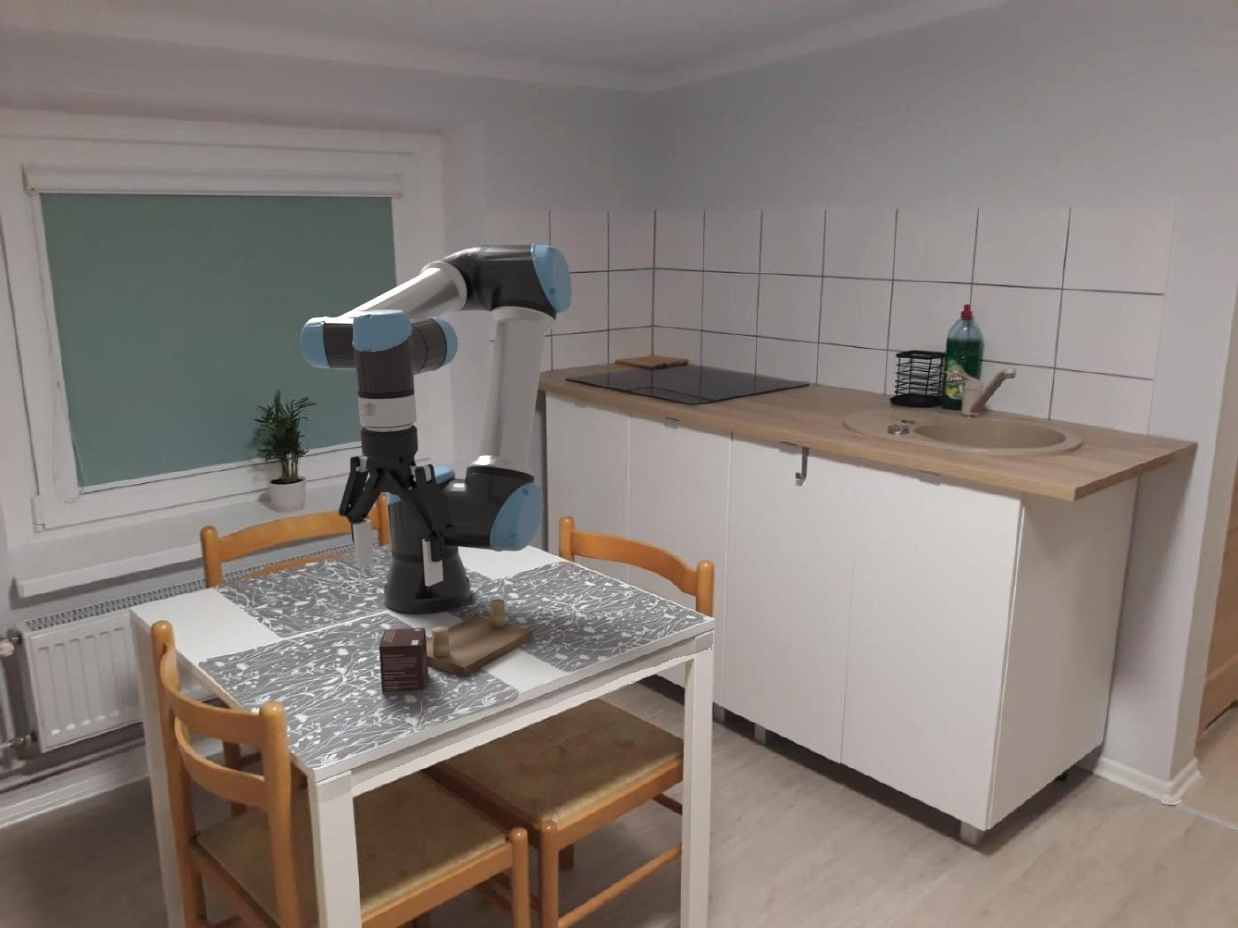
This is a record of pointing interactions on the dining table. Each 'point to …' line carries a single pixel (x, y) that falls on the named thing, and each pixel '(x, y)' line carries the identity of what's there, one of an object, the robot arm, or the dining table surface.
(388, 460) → the robot arm
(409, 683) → the box
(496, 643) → the rack board
